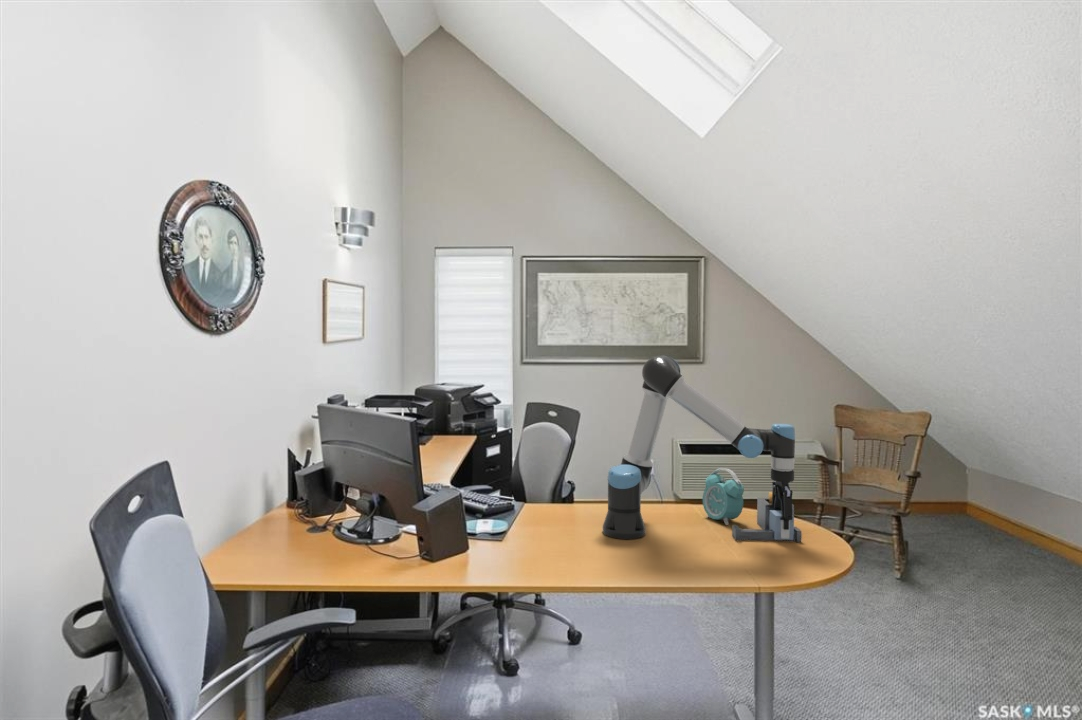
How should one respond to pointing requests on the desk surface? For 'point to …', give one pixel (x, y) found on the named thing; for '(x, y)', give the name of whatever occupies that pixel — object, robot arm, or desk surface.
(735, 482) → the alarm clock
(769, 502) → the button
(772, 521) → the block
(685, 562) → the desk surface
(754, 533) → the rail
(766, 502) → the cabinet
